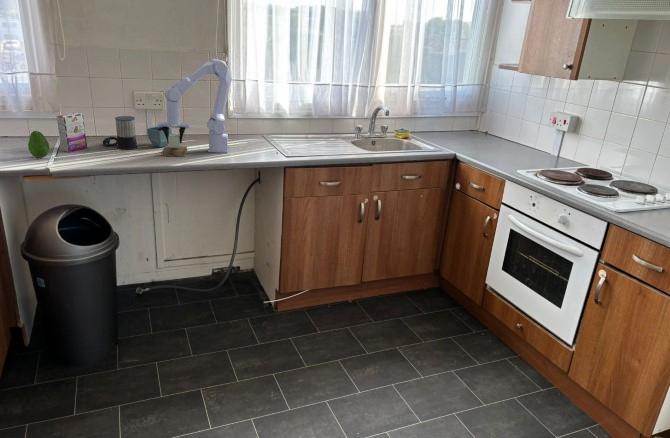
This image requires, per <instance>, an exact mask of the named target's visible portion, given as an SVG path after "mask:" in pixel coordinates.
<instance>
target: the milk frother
mask: <svg viewBox="0 0 670 438" xmlns="http://www.w3.org/2000/svg"><path fill="white" fill-rule="evenodd" d="M114 120H115V127H116V136H109V137H106V138H104V139H103V140H102V145H103V146H106V147H114V146H117V149H118V150H122V151H125V150H126V151H130V150H132V151H133V150H136V149H138V144H137V135H136V123H135V122H136V121H135V120H136V117H134V116H131V115H119V116H115V117H114ZM111 140H114V141H116V142H113V143H110V142H111Z"/></svg>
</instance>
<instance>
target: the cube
mask: <svg viewBox="0 0 670 438" xmlns="http://www.w3.org/2000/svg"><path fill="white" fill-rule="evenodd" d="M168 142H169V144H168V146H169V147H177V148H180V146H182V143H180V134H172V135H169V136H168Z"/></svg>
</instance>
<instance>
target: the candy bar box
mask: <svg viewBox="0 0 670 438" xmlns="http://www.w3.org/2000/svg"><path fill="white" fill-rule="evenodd" d="M56 122H57V127H58V128H57V129H58V133H59V134H58V135H59V141H60V142H59V143H60V148H61V151H62V152H66V153H72V152H76V151H80V150H83V149H87V148H88V142H87V135H86V128H85V127H86V126H85V120H84V113H81V112H71V113H66V114H62V115H57V116H56Z"/></svg>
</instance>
